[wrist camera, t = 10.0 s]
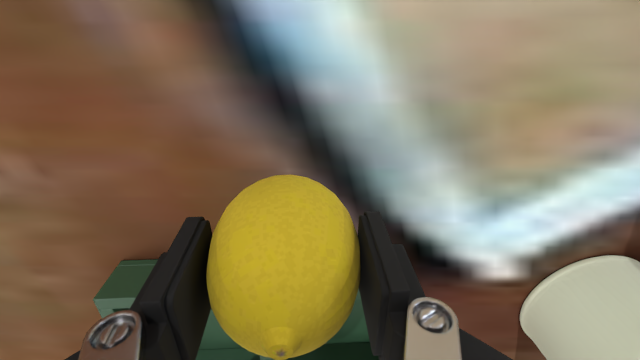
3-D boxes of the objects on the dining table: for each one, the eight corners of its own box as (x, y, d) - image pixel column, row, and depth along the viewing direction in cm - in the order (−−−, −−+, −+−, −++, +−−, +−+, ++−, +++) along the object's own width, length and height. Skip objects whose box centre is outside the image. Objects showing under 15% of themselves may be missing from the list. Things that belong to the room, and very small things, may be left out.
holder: (121, 260, 19) (92, 299, 17) (400, 250, 20) (415, 286, 17) (157, 352, 24) (139, 395, 21) (386, 341, 24) (396, 381, 22)
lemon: (338, 244, 17) (365, 409, 10) (233, 240, 16) (183, 411, 9) (353, 150, 14) (403, 282, 7) (230, 141, 14) (156, 274, 7)
